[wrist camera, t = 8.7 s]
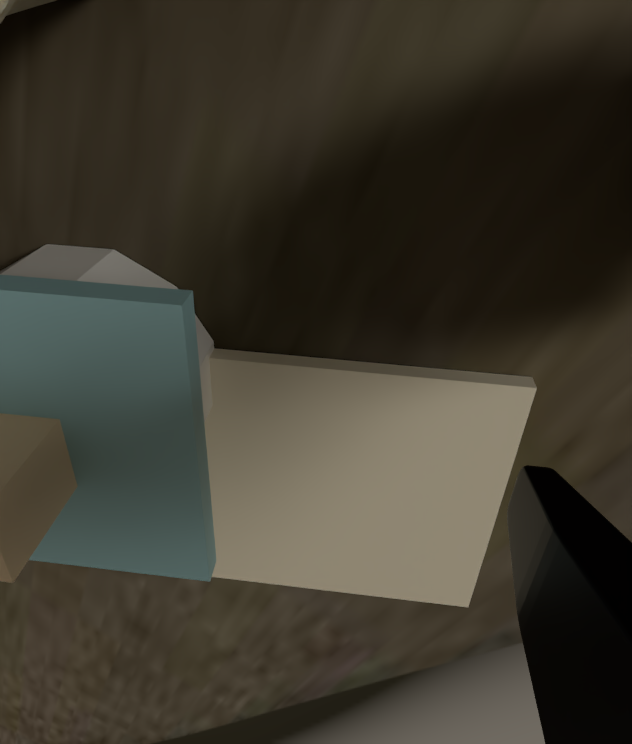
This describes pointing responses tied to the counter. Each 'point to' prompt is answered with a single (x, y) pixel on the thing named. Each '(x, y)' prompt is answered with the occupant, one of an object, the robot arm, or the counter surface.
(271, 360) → the mat
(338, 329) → the counter surface
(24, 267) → the bowl
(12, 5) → the flower pot
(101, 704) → the counter surface
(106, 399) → the lid
